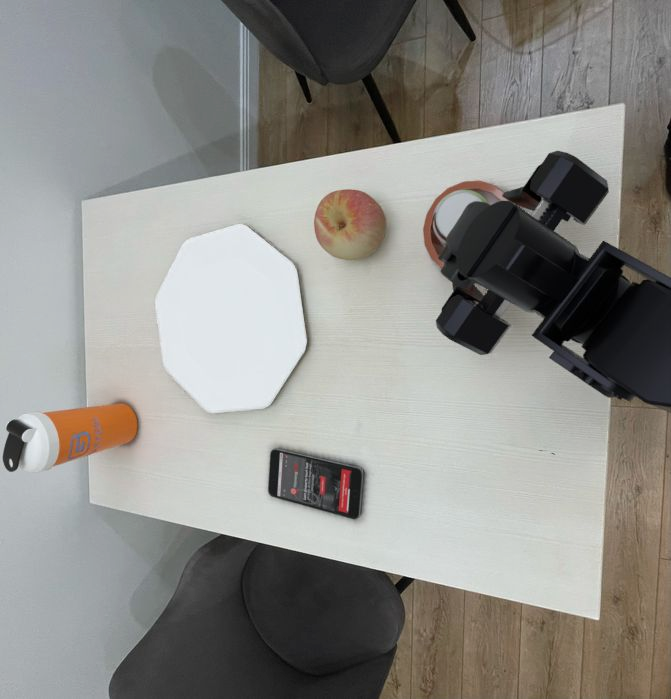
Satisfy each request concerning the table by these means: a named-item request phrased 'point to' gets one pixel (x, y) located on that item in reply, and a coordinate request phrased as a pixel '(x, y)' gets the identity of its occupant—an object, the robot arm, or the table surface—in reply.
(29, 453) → the shaker bottle
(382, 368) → the table surface
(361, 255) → the apple
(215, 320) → the plate
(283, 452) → the smartphone
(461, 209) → the beverage can
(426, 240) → the bowl
